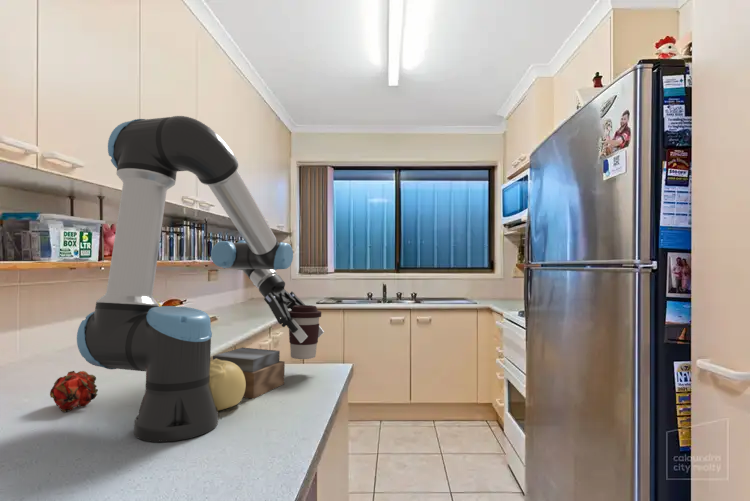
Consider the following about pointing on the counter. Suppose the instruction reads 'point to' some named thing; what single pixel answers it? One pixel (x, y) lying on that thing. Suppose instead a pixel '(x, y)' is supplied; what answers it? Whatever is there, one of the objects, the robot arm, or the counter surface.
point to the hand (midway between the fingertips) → (313, 337)
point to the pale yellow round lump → (226, 383)
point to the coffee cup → (310, 325)
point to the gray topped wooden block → (257, 369)
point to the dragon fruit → (74, 390)
